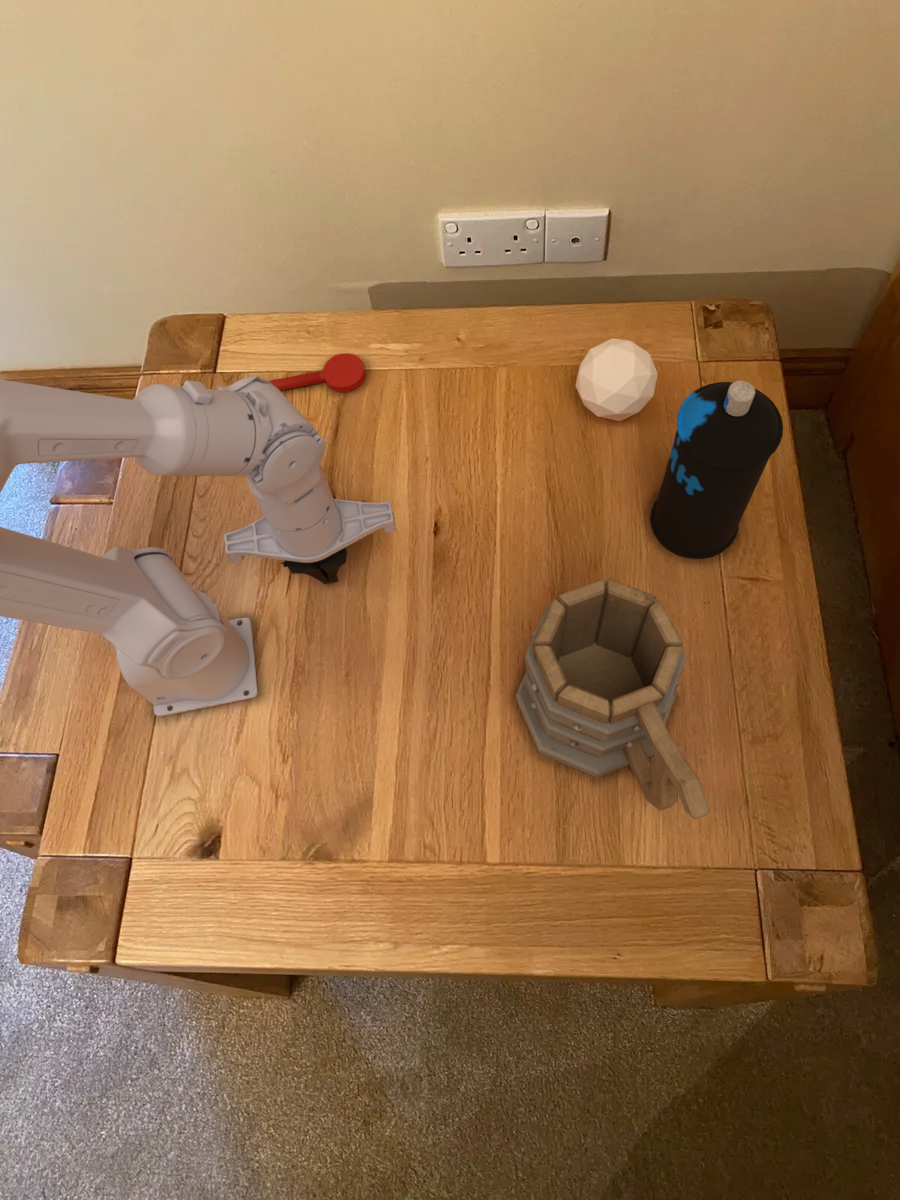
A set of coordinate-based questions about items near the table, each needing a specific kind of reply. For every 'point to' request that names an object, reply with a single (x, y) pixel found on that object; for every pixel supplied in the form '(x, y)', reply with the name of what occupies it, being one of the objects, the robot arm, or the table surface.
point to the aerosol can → (714, 467)
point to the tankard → (609, 690)
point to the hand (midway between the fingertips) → (329, 573)
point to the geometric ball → (616, 379)
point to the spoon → (330, 375)
